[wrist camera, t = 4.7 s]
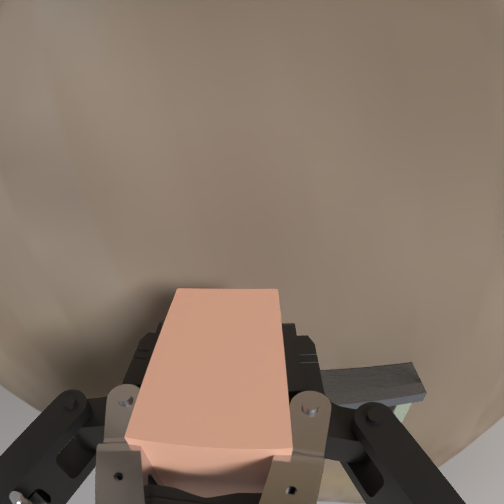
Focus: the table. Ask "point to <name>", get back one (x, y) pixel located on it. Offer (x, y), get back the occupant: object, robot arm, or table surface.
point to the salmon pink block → (215, 393)
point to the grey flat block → (375, 387)
